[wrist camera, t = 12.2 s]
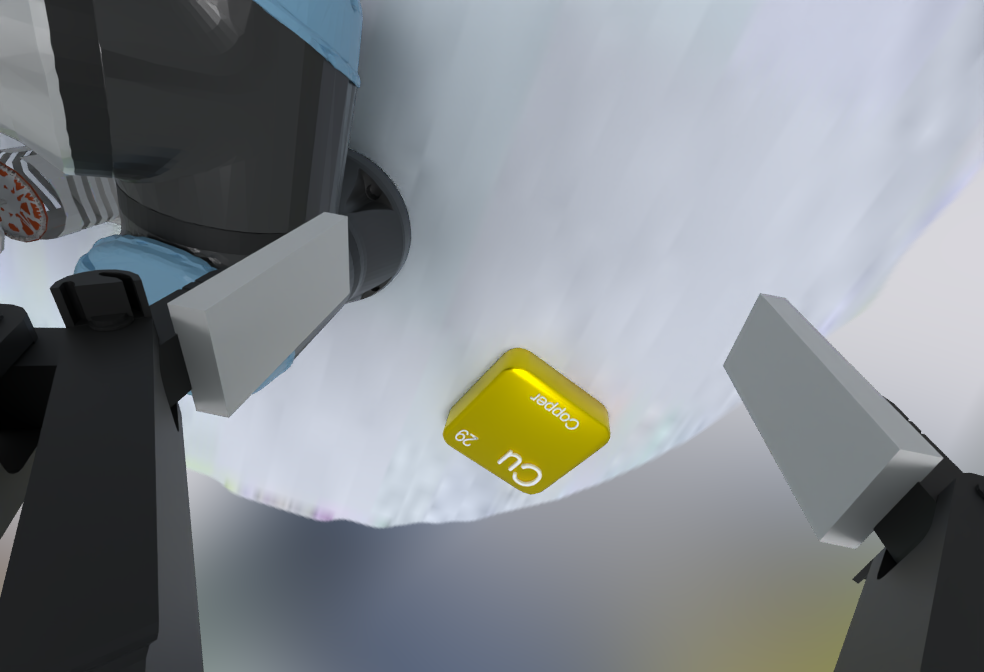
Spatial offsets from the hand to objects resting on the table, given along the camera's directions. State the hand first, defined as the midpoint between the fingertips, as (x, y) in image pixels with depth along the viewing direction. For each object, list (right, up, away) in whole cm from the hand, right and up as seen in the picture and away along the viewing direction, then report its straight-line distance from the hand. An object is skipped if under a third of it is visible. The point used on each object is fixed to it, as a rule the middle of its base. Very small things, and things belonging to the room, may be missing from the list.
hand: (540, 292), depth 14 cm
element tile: (+3, -11, +40) cm, 42 cm away
